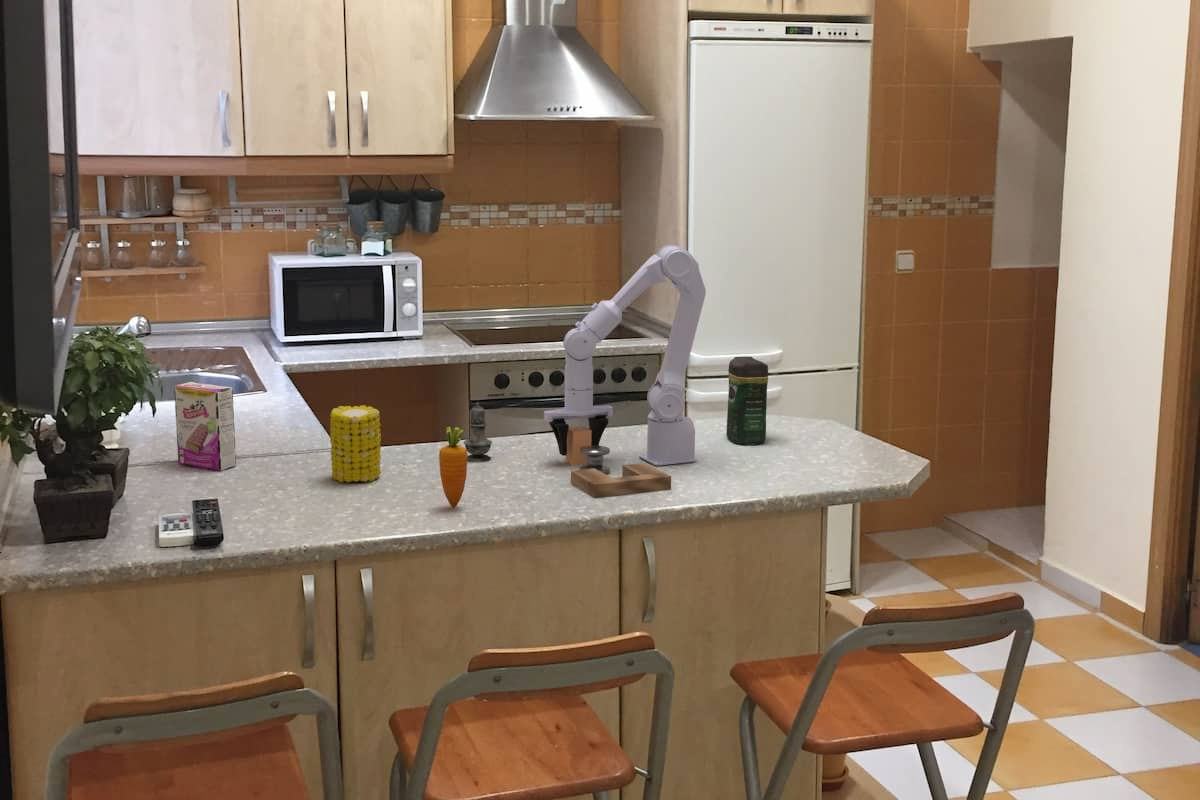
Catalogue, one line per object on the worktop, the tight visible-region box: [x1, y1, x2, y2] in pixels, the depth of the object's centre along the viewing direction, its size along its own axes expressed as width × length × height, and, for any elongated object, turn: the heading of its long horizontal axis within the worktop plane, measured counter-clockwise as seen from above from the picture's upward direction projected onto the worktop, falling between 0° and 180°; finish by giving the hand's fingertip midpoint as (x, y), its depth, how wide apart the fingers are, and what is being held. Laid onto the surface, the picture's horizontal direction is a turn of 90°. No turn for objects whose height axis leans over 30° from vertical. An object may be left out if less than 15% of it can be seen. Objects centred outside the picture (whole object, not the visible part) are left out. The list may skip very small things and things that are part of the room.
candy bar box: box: [173, 381, 237, 472], centre depth 261 cm, size 11×5×16 cm, turn 65°
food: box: [329, 405, 382, 483], centre depth 253 cm, size 15×12×10 cm
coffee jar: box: [725, 356, 769, 446], centre depth 288 cm, size 10×8×19 cm
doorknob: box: [579, 445, 611, 475], centre depth 262 cm, size 6×6×5 cm
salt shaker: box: [463, 401, 493, 463], centre depth 270 cm, size 6×6×12 cm
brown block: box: [565, 425, 592, 466], centre depth 268 cm, size 4×4×7 cm
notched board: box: [570, 462, 672, 499], centre depth 251 cm, size 16×11×2 cm
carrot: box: [438, 426, 468, 509], centre depth 234 cm, size 5×5×15 cm
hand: (578, 453), depth 269 cm, fingers open, 6 cm apart
